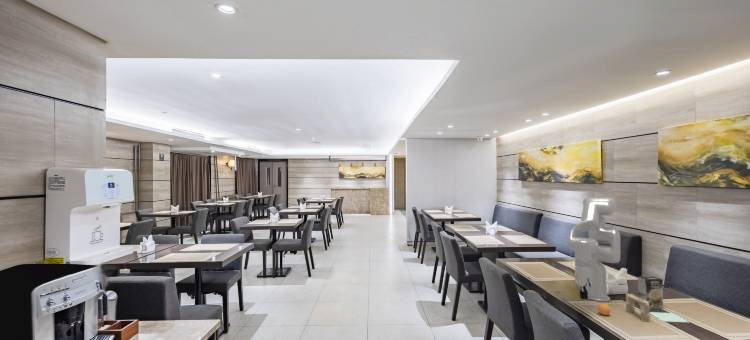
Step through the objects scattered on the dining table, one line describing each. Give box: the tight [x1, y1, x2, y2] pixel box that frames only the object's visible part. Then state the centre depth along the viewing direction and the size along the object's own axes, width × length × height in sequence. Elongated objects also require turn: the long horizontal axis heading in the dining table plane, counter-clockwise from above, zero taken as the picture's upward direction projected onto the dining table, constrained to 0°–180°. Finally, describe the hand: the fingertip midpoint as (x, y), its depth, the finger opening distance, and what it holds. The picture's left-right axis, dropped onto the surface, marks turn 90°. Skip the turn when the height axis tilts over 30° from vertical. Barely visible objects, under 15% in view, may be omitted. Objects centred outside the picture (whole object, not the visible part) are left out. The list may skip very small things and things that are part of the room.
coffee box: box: [637, 276, 664, 310], centre depth 193 cm, size 9×6×16 cm
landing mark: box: [649, 311, 690, 323], centre depth 178 cm, size 12×12×1 cm
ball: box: [597, 303, 611, 316], centre depth 182 cm, size 6×6×6 cm
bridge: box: [625, 293, 651, 323], centre depth 180 cm, size 3×14×9 cm, turn 172°
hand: (583, 298), depth 183 cm, fingers closed
